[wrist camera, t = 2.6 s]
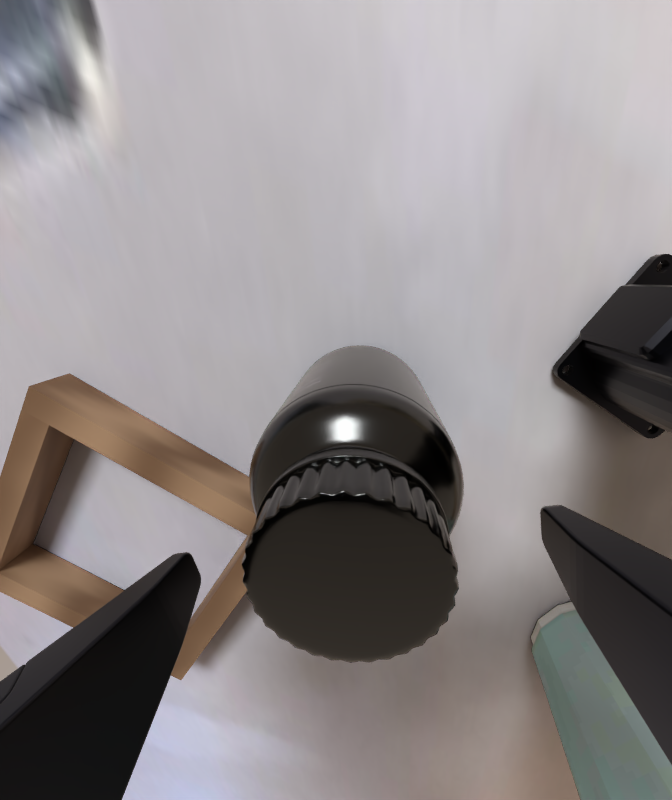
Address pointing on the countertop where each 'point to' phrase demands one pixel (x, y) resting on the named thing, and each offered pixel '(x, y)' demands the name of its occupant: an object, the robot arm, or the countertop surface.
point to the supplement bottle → (354, 511)
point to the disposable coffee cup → (596, 715)
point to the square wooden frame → (135, 450)
